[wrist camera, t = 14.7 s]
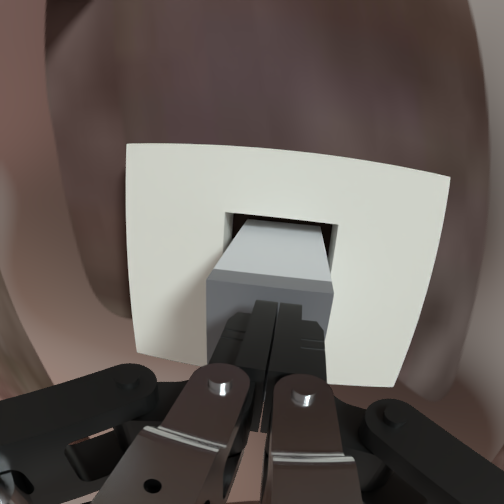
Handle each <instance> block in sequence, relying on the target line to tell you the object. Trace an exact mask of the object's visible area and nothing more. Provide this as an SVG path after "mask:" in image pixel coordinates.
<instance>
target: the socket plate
mask: <svg viewBox="0 0 504 504" xmlns="http://www.w3.org/2000/svg"><path fill="white" fill-rule="evenodd" d="M449 184H450V177H447V176H443V175H439V174H435V173H430V172H426V171H421V170H416V169H411V168H406V167H400V166H395V165H390V164H384V163H378V162H372V161H366V160H360V159H353V158H346V157H339V156H332V155H324V154H316V153H308V152H299V151H289V150H279V149H268V148H256V147H242V146H226V145H204V144H164V143H143V144H127V150H126V235H127V257H128V273H129V286H130V298H131V308H132V318H133V327H134V335H135V342H136V350H137V353H141V354H145V355H150V356H154V357H158V358H163V359H167V360H172V361H176V362H181V363H186V364H191V365H196V366H201V367H202V366H204V365H207V336H206V279H207V277H208V276H209V274H210V273H211V271H212V270H213V269H214V267H215V266H216V264H217V263H218V261H219V260H220V258H221V257H222V255H223V254H224V252H225V251H226V249H227V248H228V246H229V245H230V244H231V242H232V230H233V214H234V213H240V214H250V215H259V216H269V217H278V218H287V219H295V220H304V221H312V222H321V223H329V224H333V225H332V232H331V238H330V245H329V252H328V258H327V260H328V265H329V270H330V275H331V280H332V285H333V290H334V297H333V303H332V308H331V313H330V318H329V323H328V328H327V333H326V338H325V355H326V372H327V383H328V384H339V385H354V386H376V387H393V386H394V384H395V381H396V379H397V377H398V374H399V372H400V369H401V366H402V364H403V361H404V359H405V356H406V353H407V351H408V348H409V345H410V342H411V339H412V337H413V334H414V331H415V328H416V325H417V322H418V319H419V315H420V312H421V309H422V306H423V302H424V299H425V296H426V292H427V289H428V285H429V281H430V277H431V274H432V270H433V266H434V262H435V258H436V253H437V249H438V245H439V240H440V235H441V230H442V226H443V220H444V215H445V209H446V204H447V198H448V191H449Z"/></svg>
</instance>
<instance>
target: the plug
mask: <svg viewBox="0 0 504 504" xmlns="http://www.w3.org/2000/svg"><path fill="white" fill-rule="evenodd" d="M333 297H334V290H333V285H332V280H331V275H330V270H329V265H328V260H327V255H326V250H325V245H324V241H323V236H322V232H321V227H320V226H313V225H303V224H293V223H284V222H273V221H263V220H252V219H247V220H246V222H245V223H244V225H243V226H242V228H241V229H240V230H239V232H238V233H237V235H236V236H235V238H234V239H233V241H232V242H231V244H230V245H229V246H228V248H227V249H226V251H225V252H224V254H223V255H222V257H221V258H220V260H219V261H218V263H217V264H216V266H215V267H214V269H213V270H212V271H211V273H210V274H209V276H208V277H207V279H206V336H207V365H208V363H209V361H210V359H211V357H212V354H213V352H214V350H215V348H216V345H217V343H218V341H219V339H220V337H221V334H222V332H223V330H224V327H225V325H226V323H227V320H228V319H229V318H230V317H232V316H233V315H234V314H236V313H237V312H242V313H249V314H251V313H252V310H253V307H254V304H255V301H256V300H265V301H273V302H278V310H277V318H278V312H279V306H280V302H282V303H291V304H300V305H302V320H309V321H317V322H318V324H319V325H320V326H321V328H322V329H323V330H324V343H325V338H326V333H327V328H328V323H329V318H330V313H331V308H332V303H333ZM276 324H277V319H276ZM275 330H276V327H275ZM265 393H266V392H265ZM264 400H265V397H264Z"/></svg>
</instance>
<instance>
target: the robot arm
mask: <svg viewBox="0 0 504 504" xmlns="http://www.w3.org/2000/svg"><path fill="white" fill-rule="evenodd" d="M277 310H278V302H273V301H265V300H256V301H255V304H254V307H253V310H252V313H251V314H249V313H242V312H237V313H236V314H234V315H233V316H232V317H230V318H229V319H228V320H227V323H226V325H225V327H224V330H223V332H222V334H221V337H220V339H219V341H218V343H217V345H216V348H215V350H214V352H213V354H212V357H211V359H210V361H209V363H208V365H204V366H202V367H200V368H199V369H197V370H196V371H195V372H194V373H193V374H192V376H191V377H190V379H189V380H187V381H182V382H157V379H156V376H155V374H154V373H153V372H152V371H151V370H150V369H149V368H147V367H145V366H142V365H139V364H131V363H129V364H120V365H117V366H114V367H111V368H108V369H105V370H102V371H99V372H95V373H92V374H89V375H86V376H83V377H80V378H77V379H74V380H70V381H67V382H64V383H61V384H57V385H54V386H51V387H47V388H44V389H41V390H37V391H34V392H30V393H27V394H23V395H19V396H16V397H12V398H8V399H5V400H1V401H0V504H61V503H64V502H67V501H70V500H73V499H76V498H79V497H82V496H85V495H87V494H90V493H93V492H96V491H98V490H99V492H98V493H97V495H96V496H95V498H94V499H93V500H92V501H90V502H86V503H82V504H226V502H227V499H228V496H229V493H230V491H231V488H232V485H233V483H234V480H235V477H236V474H237V471H238V468H239V465H240V462H241V459H242V457H243V453H244V448H245V446H246V444H247V441H248V436H249V432H250V431H254V432H258V428H259V423H260V418H261V413H262V408H263V402H264V408H263V416H262V423H261V432H262V433H267V437H266V443H265V449H264V455H263V466H262V480H261V493H260V504H504V471H503V470H501V469H500V468H498V467H497V466H495V465H494V464H492V463H491V462H489V461H488V460H487V459H485V458H484V457H482V456H481V455H479V454H478V453H477V452H475V451H474V450H472V449H471V448H469V447H468V446H467V445H465V444H463V443H462V442H461V441H459V440H458V439H457V438H455V437H454V436H452V435H451V434H450V433H448V432H447V431H445V430H444V429H443V428H441V427H440V426H438V425H437V424H436V423H434V422H433V421H431V420H430V419H429V418H427V417H426V416H425V415H423V414H422V413H420V412H419V411H418V410H416V409H415V408H414V407H412V406H411V405H409V404H407V403H405V402H403V401H400V400H396V399H382V400H378V401H376V402H374V403H372V404H371V405H370V406H369V407H368V408H367V410H366V409H362V408H359V407H355V406H352V405H349V404H346V403H344V402H342V401H341V400H339V399H338V398H336V397H335V396H334V395H333V391H332V389H331V387H330V386H329V384H328V383H327V372H326V355H325V343H324V330H323V329H322V328H321V326H320V325H319V324H318V322H317V321H309V320H302V305H300V304H291V303H282V302H280V306H279V312H278V318H277ZM276 319H277V324H276ZM275 327H276V330H275ZM265 392H266V393H265ZM264 397H265V400H264ZM112 427H113V429H114V430H113V431H111V432H108V433H105V434H103V435H100V436H97V437H94V438H92V439H89V440H86V441H83V442H80V443H78V444H74V445H68V444H69V443H71V442H73V441H76V440H79V439H82V438H85V437H88V436H91V435H93V434H96V433H99V432H101V431H104V430H107V429H109V428H112Z"/></svg>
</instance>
